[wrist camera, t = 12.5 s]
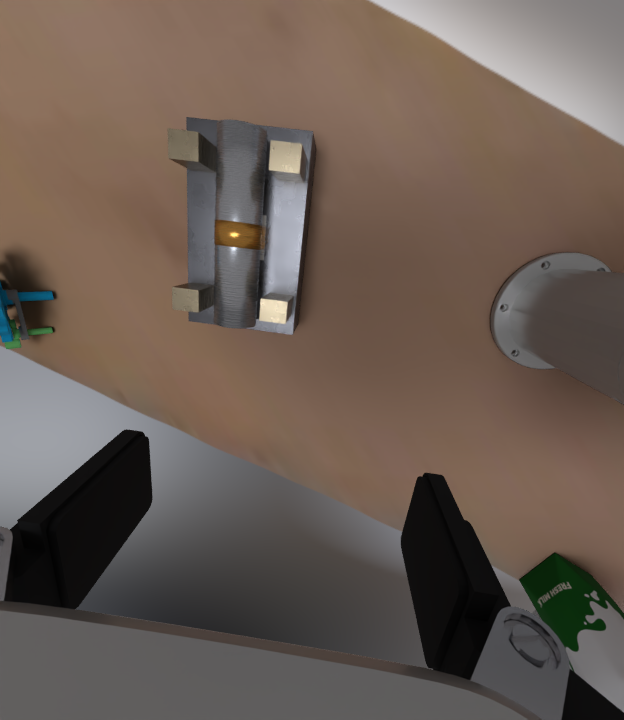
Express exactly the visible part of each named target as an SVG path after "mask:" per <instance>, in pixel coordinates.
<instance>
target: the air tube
mask: <svg viewBox="0 0 624 720" xmlns="http://www.w3.org/2000/svg"><path fill="white" fill-rule="evenodd" d="M267 134H268V133H267V131H266V130H264V129H263V128H261V127H259V126H257V125H254V124H251V123H248V122H244V121H238V120H221V121H218V122H217V140H216V204H215V229H214V244H215V268H214V323H215V324H216V325H219V326H222V327H228V328H251V327H254V326H256V316H257V300H258V283H259V267H260V250H261V243H262V217H263V200H264V184H265V167H266V151H267Z"/></svg>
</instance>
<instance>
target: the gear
mask: <svg viewBox="0 0 624 720" xmlns="http://www.w3.org/2000/svg"><path fill="white" fill-rule="evenodd" d="M37 300H54V299H53V294H52V291H41V292H17V290H3V289H2V285H1V282H0V335H1V338H2V342H5V346H6V349H12V348H20V347H21V343H20V340H19V338H20V337H21V339H22V340H26V339H29V335H38V334H48V333H53V331H52V327H48V328H37V329H27V327H26V323H25V319H24V315H23V312H22V308H21V304H20V301H37ZM13 304H15V305H16V309H17V312H18V316H19V320H20V324H21V326H18V328H19V329H17V328H16V323H15V320H14V319H12V320H10V318H9V317H8V314H7V310H8V308H7V305H13ZM11 328H12V330H11ZM12 332H13V333H12ZM13 336H14V339H13Z"/></svg>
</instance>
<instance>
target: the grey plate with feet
mask: <svg viewBox="0 0 624 720" xmlns="http://www.w3.org/2000/svg"><path fill="white" fill-rule="evenodd" d="M186 118H187V131H186V130H177V129H168V158H169V159H171V160H173V161H174V162H176V163H178V164H180V165H182V166H184V167H186V168H187V208H188V283H187V284H183V285H178V286H174V287H172V303H173V309H175V310H183V311H189V321H193V322H201V323H208V324H215V323H214V268H215V244H214V229H215V204H216V140H217V122H218V121H217V120H208V119H199V118H190V117H186ZM257 126H259V127H261V128H263V129H264V130H266V131H267V133H268V134H267V151H266V167H265V184H264V200H263V217H262V243H261V250H260V267H259V283H258V300H257V316H256V326H254V327H251V328H246V329H253V330H261V331H268V332H276V333H283V334H291V335H293V333H294V331H295V329H296V327H297V325H298V320H299V311H300V301H301V292H302V282H303V273H304V263H305V253H306V244H307V234H308V225H309V215H310V205H311V196H312V186H313V177H314V167H315V158H316V144H315V139H314V134H313V131H306V130H297V129H288V128H279V127H270V126H261V125H257Z"/></svg>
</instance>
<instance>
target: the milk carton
mask: <svg viewBox="0 0 624 720" xmlns="http://www.w3.org/2000/svg"><path fill="white" fill-rule="evenodd" d="M519 581H520V582H521V584H522V586H523V587H524V589H525V591H526V593H527V594H528V596H529V598H530V600H531V601H532V603H533V605H534V607H535V609H536V610H537V612H538V614H539V616H540V617H541V619H542V621H543V622H544V623H546V624H547V625H548V626H549V627H550V628H551V629H552V630H553V632H554V633H555V634H556V635H557V636H558V638H559V639H560V641H561V642H562V644H563V645H564V647H565V649H566V652H567V654H568V657H569V665H570V669H571V670H572V671H574V672H575V673H576V674H577V675H579V676H580V677H581V678H582V679H583V680H585V681H586V682H587V683H588V684H589V685H591V686H592V687H593V688H594V689H596V690H597V691H598V692H599V693H600V694H602V695H603V696H604V697H605V698H607V699H608V700H609V701H610V702H611V703H613V704H614V705H615V706H616V707H618V708H619V709H620V710H621V711H622V712H624V613H623V612H622V611H621V609H620V608H619V607H618V605H617V604H616V603H615V602H614V600H613V599H612V598H611V597H610V596H609V595H608V594H607V592H606V591H605V590H604V589H603V588H602V587H601V586H600V585H599V583H598V582H597V581H596V580H595V579H594V578H593V577H592V575H590V574H589V573H587V572H585V571H584V570H582V569H581V568H579V567H577V566H576V565H574V564H572V563H571V562H569V561H568V560H566V559H564V558H563V557H561V556H560V555H558V554H556V553H554V554H552V555H551V556H550V557H549V558H547V559H546V560H545V561H543V562H542V563H541V564H539V565H538V566H537V567H535V568H534V569H533V570H532V571H530V572H529V573H528V574H526V575H525V576H524V577H522V578H521V579H520V580H519Z"/></svg>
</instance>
